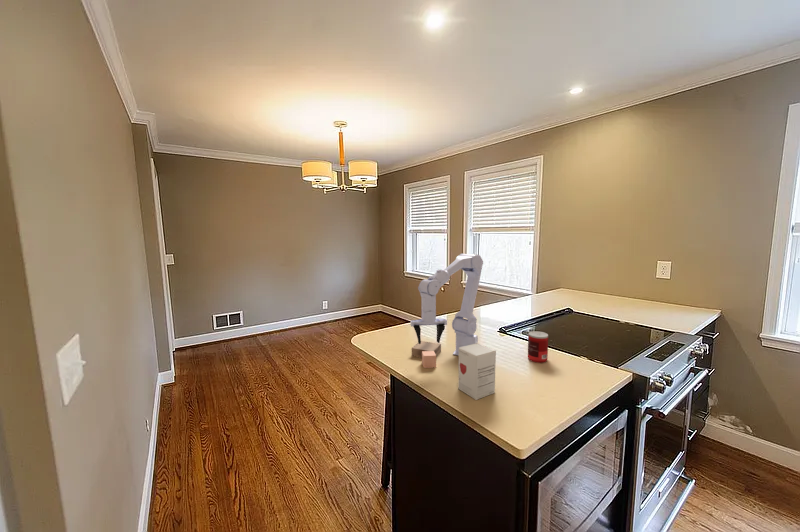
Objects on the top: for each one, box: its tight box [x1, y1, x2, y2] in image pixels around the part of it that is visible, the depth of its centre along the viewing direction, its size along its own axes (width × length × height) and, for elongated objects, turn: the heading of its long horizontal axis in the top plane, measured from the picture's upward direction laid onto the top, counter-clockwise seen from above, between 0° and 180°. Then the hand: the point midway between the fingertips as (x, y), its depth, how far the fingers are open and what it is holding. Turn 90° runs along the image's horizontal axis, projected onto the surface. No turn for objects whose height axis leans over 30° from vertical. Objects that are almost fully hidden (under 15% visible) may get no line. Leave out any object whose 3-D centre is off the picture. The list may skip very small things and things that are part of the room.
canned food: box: [527, 330, 549, 364], centre depth 136 cm, size 8×8×11 cm
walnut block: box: [411, 340, 442, 359], centre depth 144 cm, size 10×10×4 cm
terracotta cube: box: [421, 351, 437, 369], centre depth 132 cm, size 5×5×5 cm
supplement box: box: [457, 342, 497, 401], centre depth 110 cm, size 9×9×15 cm
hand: (428, 342), depth 131 cm, fingers open, 7 cm apart
